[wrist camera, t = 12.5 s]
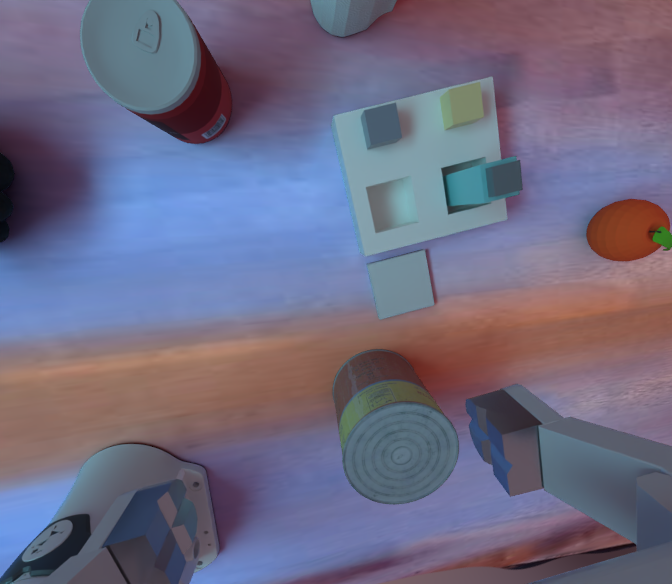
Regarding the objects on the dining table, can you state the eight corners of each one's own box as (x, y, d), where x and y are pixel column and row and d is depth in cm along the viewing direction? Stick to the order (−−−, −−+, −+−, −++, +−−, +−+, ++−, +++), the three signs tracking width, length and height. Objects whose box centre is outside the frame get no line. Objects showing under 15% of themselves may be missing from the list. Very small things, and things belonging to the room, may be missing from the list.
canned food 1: (236, 66, 31) (199, -11, 21) (232, 151, 33) (196, 120, 22) (155, 51, 30) (74, -37, 20) (155, 140, 32) (81, 102, 22)
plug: (468, 199, 36) (527, 193, 26) (441, 206, 36) (491, 202, 26) (464, 171, 35) (524, 153, 26) (437, 177, 35) (486, 162, 25)
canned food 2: (401, 432, 43) (436, 512, 32) (322, 417, 42) (328, 495, 30) (428, 359, 41) (476, 416, 29) (346, 340, 39) (362, 392, 28)
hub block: (489, 219, 37) (519, 219, 32) (359, 252, 37) (368, 258, 32) (474, 90, 34) (505, 66, 28) (330, 125, 33) (335, 108, 28)
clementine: (640, 221, 39) (712, 222, 32) (607, 270, 40) (669, 281, 33) (594, 190, 38) (658, 183, 31) (560, 241, 39) (615, 247, 32)
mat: (432, 303, 39) (434, 305, 39) (378, 318, 39) (379, 319, 38) (423, 249, 37) (425, 249, 37) (366, 264, 37) (367, 264, 37)
